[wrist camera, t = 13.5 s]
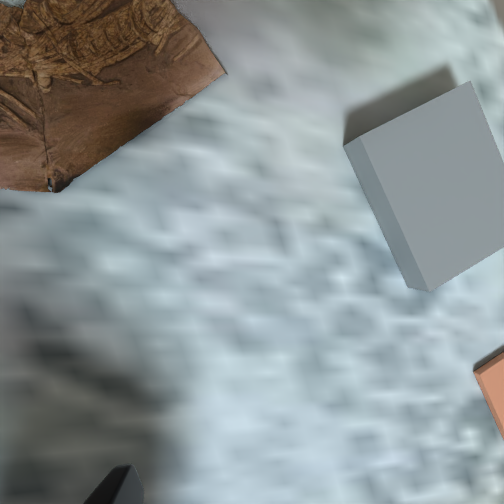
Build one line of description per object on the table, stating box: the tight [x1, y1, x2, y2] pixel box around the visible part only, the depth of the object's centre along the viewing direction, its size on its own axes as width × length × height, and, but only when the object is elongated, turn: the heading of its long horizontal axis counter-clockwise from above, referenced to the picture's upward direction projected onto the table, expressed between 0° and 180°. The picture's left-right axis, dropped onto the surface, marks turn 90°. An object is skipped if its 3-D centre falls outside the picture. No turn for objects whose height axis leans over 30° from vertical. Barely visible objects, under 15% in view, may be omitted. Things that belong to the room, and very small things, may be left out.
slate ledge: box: [343, 81, 504, 292], centre depth 21 cm, size 10×8×2 cm
